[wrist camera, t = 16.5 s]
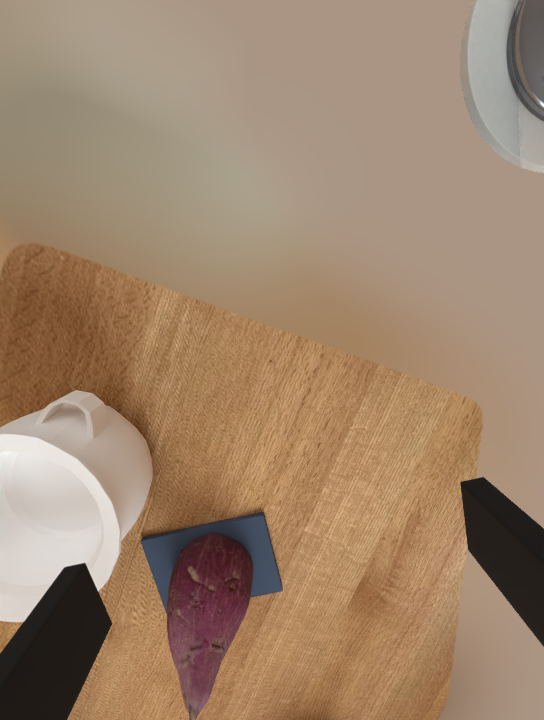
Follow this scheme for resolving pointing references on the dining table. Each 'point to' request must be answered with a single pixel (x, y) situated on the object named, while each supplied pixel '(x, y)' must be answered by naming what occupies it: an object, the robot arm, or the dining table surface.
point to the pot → (66, 495)
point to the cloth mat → (242, 529)
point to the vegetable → (206, 611)
